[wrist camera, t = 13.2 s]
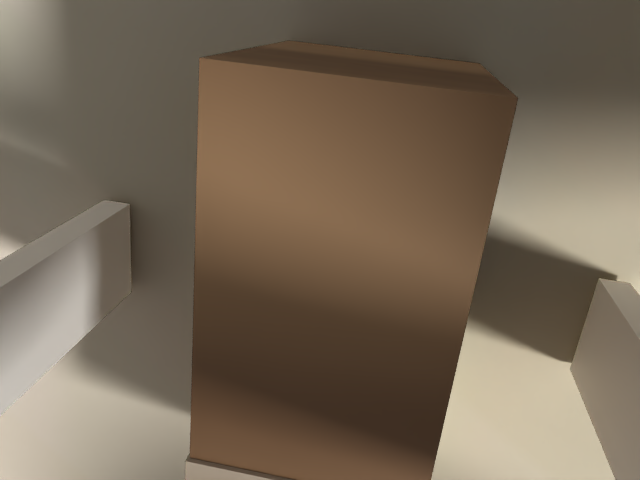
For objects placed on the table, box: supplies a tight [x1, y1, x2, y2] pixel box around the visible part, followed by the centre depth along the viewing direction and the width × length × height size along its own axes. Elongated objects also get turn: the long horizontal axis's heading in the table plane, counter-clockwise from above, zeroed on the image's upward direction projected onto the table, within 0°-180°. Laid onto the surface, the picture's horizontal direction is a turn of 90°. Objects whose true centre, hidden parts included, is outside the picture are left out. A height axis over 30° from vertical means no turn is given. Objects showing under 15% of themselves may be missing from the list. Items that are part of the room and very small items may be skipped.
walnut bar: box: [185, 41, 518, 480], centre depth 13 cm, size 12×5×6 cm, turn 174°
